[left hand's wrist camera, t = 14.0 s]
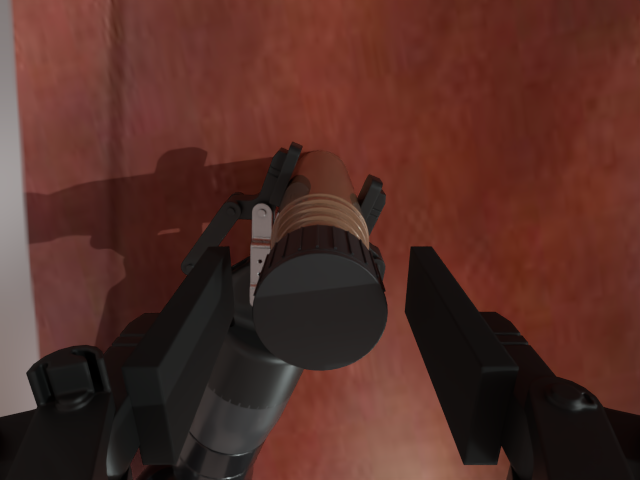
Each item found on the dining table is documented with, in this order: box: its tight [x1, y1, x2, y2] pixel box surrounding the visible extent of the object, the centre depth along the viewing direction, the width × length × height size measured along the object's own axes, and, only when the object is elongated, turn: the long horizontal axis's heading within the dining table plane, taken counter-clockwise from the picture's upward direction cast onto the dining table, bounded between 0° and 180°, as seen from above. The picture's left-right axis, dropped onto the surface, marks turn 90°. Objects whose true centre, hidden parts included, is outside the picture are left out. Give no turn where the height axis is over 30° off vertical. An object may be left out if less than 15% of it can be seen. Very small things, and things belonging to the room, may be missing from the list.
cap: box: [252, 224, 388, 371], centre depth 13 cm, size 4×4×3 cm
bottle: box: [271, 151, 369, 250], centre depth 22 cm, size 5×5×20 cm
